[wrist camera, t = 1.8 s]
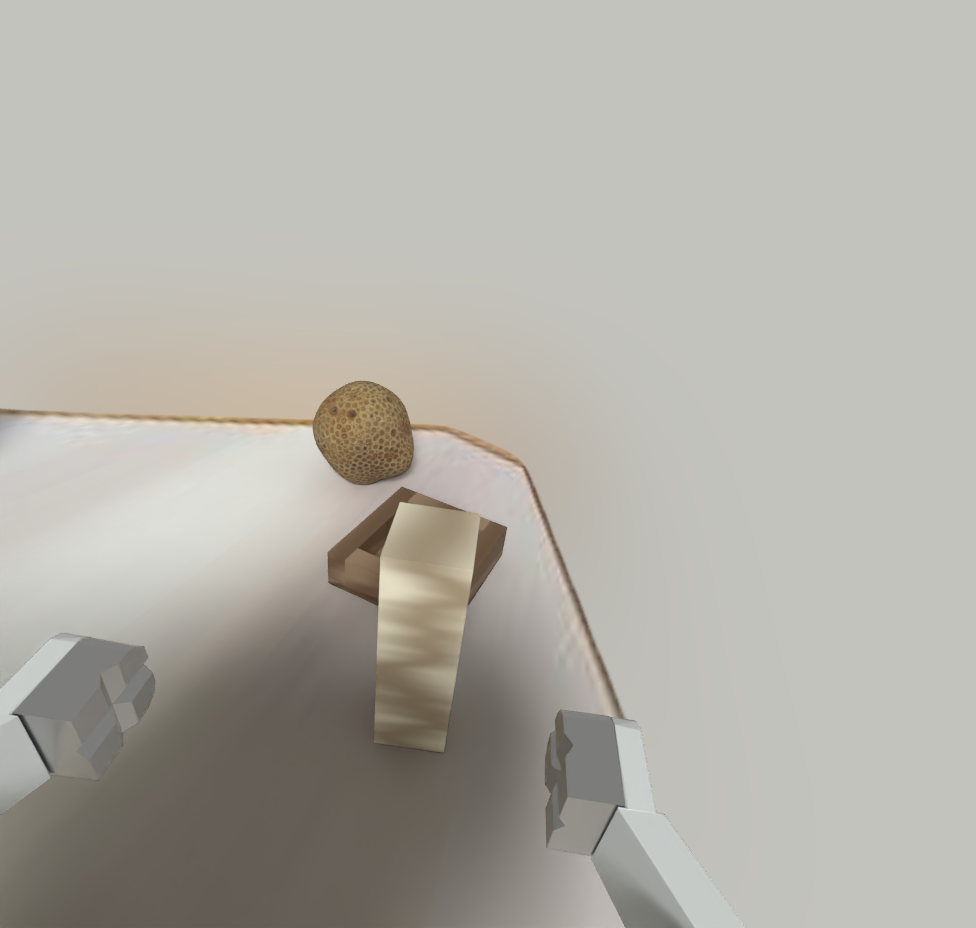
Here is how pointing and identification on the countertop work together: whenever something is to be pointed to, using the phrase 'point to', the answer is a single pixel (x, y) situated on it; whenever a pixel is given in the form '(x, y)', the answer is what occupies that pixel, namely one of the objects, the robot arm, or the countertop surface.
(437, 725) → the beige tall block
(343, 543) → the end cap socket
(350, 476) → the natural sponge
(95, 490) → the countertop surface
